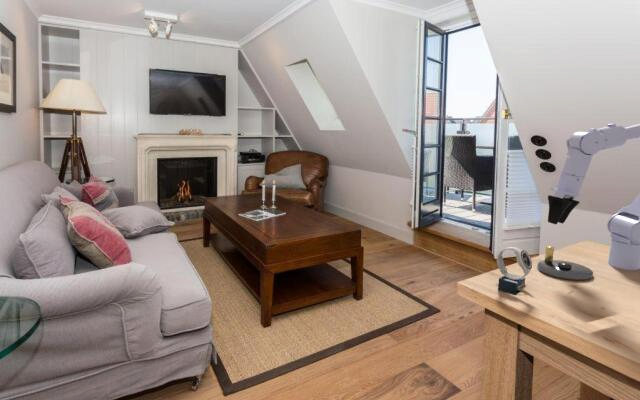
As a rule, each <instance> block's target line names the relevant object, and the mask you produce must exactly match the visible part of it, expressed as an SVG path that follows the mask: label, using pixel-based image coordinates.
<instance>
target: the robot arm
mask: <svg viewBox="0 0 640 400" xmlns="http://www.w3.org/2000/svg"><path fill="white" fill-rule="evenodd" d="M637 138H640V123H636V124H634V125H629V126H627V127H624V126H623V125H621V124H616V123H608V124H607V126H604V127H600V128H596V127H593V128H589V131H577V132H574V133H573V134H571V136H569V138H568V139H566V147H567V153H566V157H565V160H564V163H563V165H562V168H561V172H560V175H559V177H558V180H557V183H556V186H555V187H550V188H549V189H550V190H551V191H554V195H550V194H548V195H547V200H548V216H547V223H550V224H553V225H557V224H558V223H560V224H565V222H566V221H567V219H568V217H569V216H570V214H571V213H572V211H573V210H574V209H575V207H577V206H579V204H580V201H579V200H575V198H579V197H580V191H581V189H582V186H583V183H584V181H585V178H586V176H587V172H588V170H589V167H590V164H591V161H592V158H593V156H594V155H595V154H598V153H599V152H600V151H603V150H607V149H612V148H616V147H620V146H623V145H625V144H626V142H627V141H628V140H632V139H637ZM606 228H607V230H608V232H609V233H610V237H611V241H610V247H609V254H608V260H607V264H608V265H609V266H611V267H613V268H615V269H619V270H625V271H626V270H627V271H638V270H640V192H639V193H638V195H637V196H636V197H635V199H634V200H633V201H632V202H631V204H629V205H626V206H624V207H621V208H620V209H619V210H618V211H617V213H615V214H613V215H611V217H609V218H608V220H607V223H606Z"/></svg>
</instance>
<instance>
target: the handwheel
mask: <svg viewBox="0 0 640 400" xmlns="http://www.w3.org/2000/svg"><path fill="white" fill-rule="evenodd" d="M554 251H555V247H554V246H551V245H546V247H545V254H544V259H543V260H541V261H539V262H538V263H537V267H536V268H537V270H538V272H540V273H542V274H544V275H546V276H548V277H552V278H556V279H558V280H559V279H560V280H564V281H565V280H566V281H572V282H573V281H575V282H583V281H590V280H591V279H593V277H594V271H593V270H592V269H590V268H589V267H587V266H585V265H582V264H580V263H576V262H571V261H567V260H566V261H565V260H559V259H554Z"/></svg>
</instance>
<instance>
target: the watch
mask: <svg viewBox="0 0 640 400" xmlns="http://www.w3.org/2000/svg"><path fill="white" fill-rule="evenodd" d="M507 250H508V251H514V254H515V255H516V256H515V257H516V261H517V264H518V266H519V267H520V269H521V270H522V271H523V273H524V274H523V275H522V276H521V275H517V274H514V273H511V272H510V273H509V272H508V268H507V267H506V265H505V263H504V259H503V253H504V252H505V251H507ZM496 264H497V267H498V269H499V272H500V273H501V275H502V276H500V277H499V278H498V285H497V286H498V287H497V291H500V292H503V293H507V294H509V295H513V296H517V295H519V294H520V293H521V292H522V291H521V290H519V288H521V287H522V286H523V285H525V282H526V277H527V276H528V275H529V274H530V272H531V270H532V269H533V261H532V259H531V256H530V254H529V253H528V251H526V250H524V249H522V248H520V247H518V246H507V247H506V248H503V249H501V250H500V251H499V252H498V253H497V258H496Z"/></svg>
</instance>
